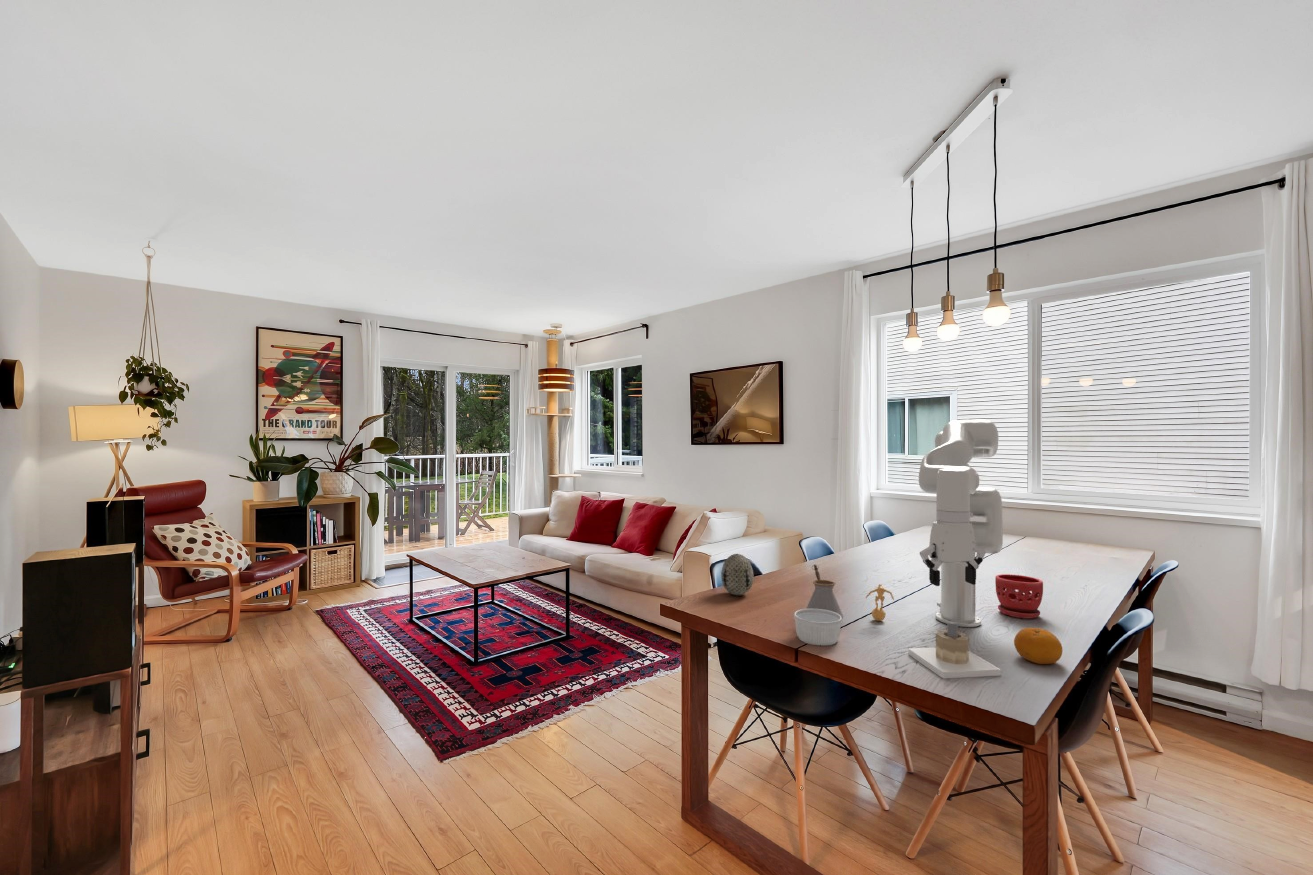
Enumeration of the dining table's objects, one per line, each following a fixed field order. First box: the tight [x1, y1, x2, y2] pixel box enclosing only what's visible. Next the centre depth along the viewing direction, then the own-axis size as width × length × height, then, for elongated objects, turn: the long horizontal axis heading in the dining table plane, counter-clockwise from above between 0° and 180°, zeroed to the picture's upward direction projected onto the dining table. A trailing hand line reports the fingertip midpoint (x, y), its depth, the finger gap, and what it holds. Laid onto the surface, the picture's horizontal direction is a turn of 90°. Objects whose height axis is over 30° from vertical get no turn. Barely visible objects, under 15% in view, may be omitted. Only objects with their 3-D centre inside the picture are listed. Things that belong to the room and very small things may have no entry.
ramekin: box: [793, 608, 843, 647], centre depth 160 cm, size 13×13×7 cm
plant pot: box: [994, 573, 1044, 620], centre depth 183 cm, size 13×13×12 cm
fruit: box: [1013, 627, 1063, 665], centre depth 145 cm, size 10×10×8 cm
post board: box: [907, 622, 1002, 679], centre depth 143 cm, size 15×15×10 cm
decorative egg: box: [720, 553, 755, 596], centre depth 205 cm, size 12×12×15 cm
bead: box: [935, 629, 970, 664], centre depth 143 cm, size 7×7×6 cm
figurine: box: [865, 583, 895, 622], centre depth 175 cm, size 8×6×12 cm
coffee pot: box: [805, 564, 844, 620], centre depth 178 cm, size 21×12×15 cm, turn 174°
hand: (952, 583), depth 143 cm, fingers open, 9 cm apart
